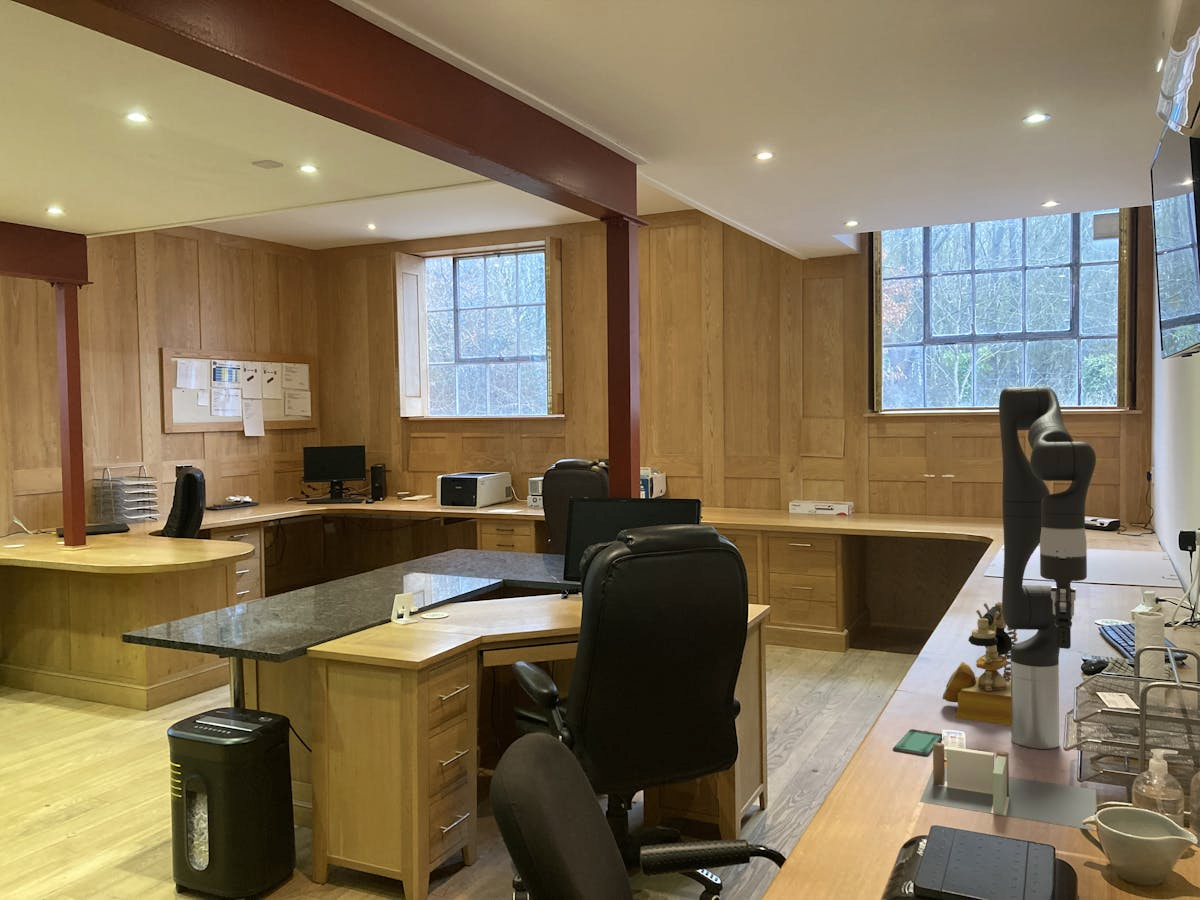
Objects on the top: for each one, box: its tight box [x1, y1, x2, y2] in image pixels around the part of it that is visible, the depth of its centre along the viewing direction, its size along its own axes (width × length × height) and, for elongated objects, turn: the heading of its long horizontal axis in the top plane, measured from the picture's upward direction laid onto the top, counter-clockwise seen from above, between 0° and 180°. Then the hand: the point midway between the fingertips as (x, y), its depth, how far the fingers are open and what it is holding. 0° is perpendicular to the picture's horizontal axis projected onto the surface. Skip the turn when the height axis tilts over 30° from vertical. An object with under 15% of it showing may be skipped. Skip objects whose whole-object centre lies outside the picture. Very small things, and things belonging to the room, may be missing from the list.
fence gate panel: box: [993, 755, 1007, 814], centre depth 161 cm, size 9×2×7 cm, turn 152°
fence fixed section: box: [932, 742, 1010, 795], centre depth 169 cm, size 2×13×7 cm, turn 62°
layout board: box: [919, 766, 1098, 832], centre depth 165 cm, size 19×28×1 cm
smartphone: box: [892, 728, 943, 757], centre depth 194 cm, size 7×1×15 cm
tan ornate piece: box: [942, 601, 1018, 727], centre depth 218 cm, size 35×18×25 cm, turn 147°
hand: (1063, 647), depth 166 cm, fingers closed
